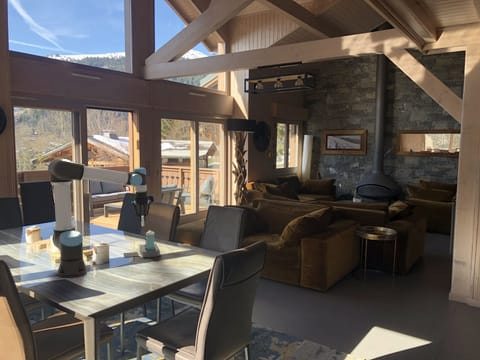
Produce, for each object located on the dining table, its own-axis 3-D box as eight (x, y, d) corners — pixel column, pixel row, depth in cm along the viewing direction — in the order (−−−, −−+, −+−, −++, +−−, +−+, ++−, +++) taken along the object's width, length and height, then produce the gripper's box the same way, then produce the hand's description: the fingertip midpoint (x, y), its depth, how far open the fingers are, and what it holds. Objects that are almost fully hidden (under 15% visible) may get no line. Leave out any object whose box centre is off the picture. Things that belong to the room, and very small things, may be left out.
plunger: (145, 249, 255) (145, 238, 254) (144, 247, 259) (144, 237, 258) (152, 248, 256) (152, 238, 255) (151, 246, 260) (151, 236, 260)
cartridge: (146, 256, 246) (146, 232, 244) (145, 254, 251) (145, 230, 249) (155, 255, 248) (154, 231, 246) (153, 253, 253) (153, 229, 251)
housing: (159, 256, 247) (159, 250, 247) (142, 257, 243) (142, 251, 243) (155, 249, 263) (155, 243, 263) (139, 250, 259) (139, 244, 259)
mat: (124, 257, 243) (124, 257, 243) (123, 253, 251) (123, 253, 251) (138, 256, 246) (138, 255, 246) (137, 252, 254) (137, 251, 254)
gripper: (131, 192, 244) (133, 228, 247) (151, 191, 249) (153, 226, 251) (130, 191, 251) (132, 225, 254) (150, 189, 255) (151, 223, 258)
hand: (142, 225), depth 253 cm, fingers closed
